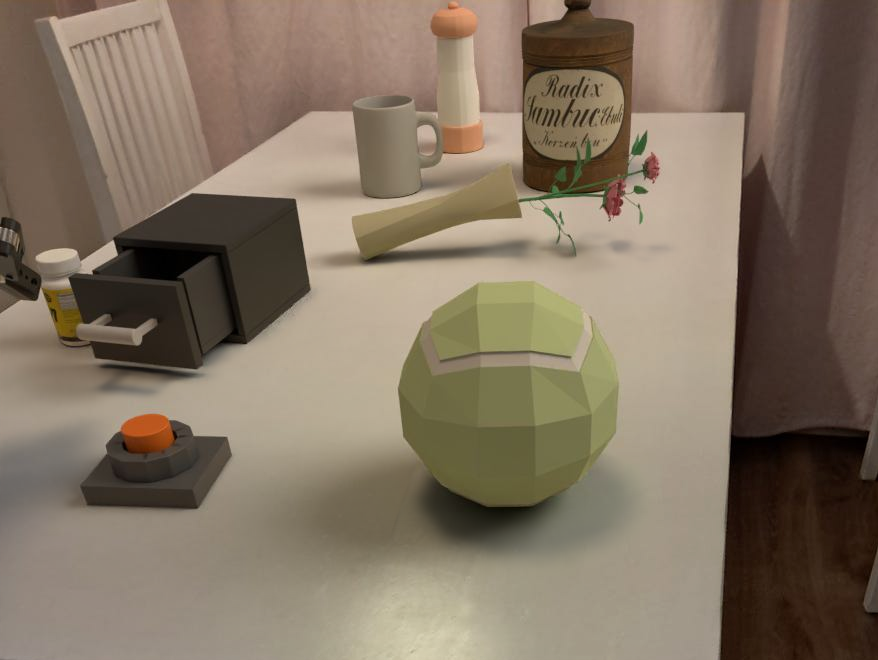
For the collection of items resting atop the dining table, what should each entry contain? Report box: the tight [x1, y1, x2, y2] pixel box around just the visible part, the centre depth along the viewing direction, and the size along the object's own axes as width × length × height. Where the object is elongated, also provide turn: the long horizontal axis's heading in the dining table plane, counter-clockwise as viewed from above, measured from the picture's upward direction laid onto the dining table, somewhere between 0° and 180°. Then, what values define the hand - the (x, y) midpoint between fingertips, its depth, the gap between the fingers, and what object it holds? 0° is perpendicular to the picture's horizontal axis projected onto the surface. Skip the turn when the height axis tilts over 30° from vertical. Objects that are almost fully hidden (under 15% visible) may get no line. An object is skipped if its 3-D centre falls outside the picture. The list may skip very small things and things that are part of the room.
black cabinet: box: [112, 192, 312, 344], centre depth 96 cm, size 15×13×10 cm
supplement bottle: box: [34, 247, 91, 347], centre depth 93 cm, size 5×5×8 cm
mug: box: [351, 94, 444, 199], centre depth 127 cm, size 12×8×11 cm
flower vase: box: [351, 129, 660, 261], centre depth 107 cm, size 12×12×35 cm
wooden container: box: [520, 0, 635, 194], centre depth 123 cm, size 15×15×22 cm
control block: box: [79, 419, 233, 509], centre depth 72 cm, size 9×8×4 cm
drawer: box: [68, 247, 237, 370], centre depth 89 cm, size 18×11×8 cm, turn 162°
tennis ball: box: [397, 280, 620, 508], centre depth 65 cm, size 15×15×15 cm
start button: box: [120, 413, 174, 454], centre depth 71 cm, size 4×4×2 cm
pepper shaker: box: [429, 0, 484, 154], centre depth 140 cm, size 7×7×19 cm
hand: (32, 289), depth 73 cm, fingers closed
